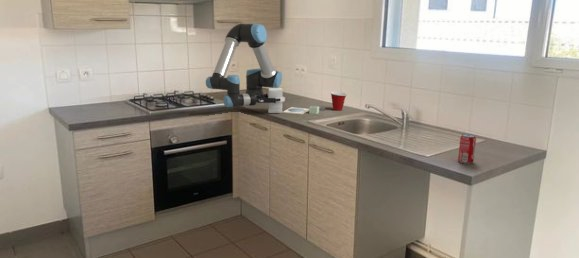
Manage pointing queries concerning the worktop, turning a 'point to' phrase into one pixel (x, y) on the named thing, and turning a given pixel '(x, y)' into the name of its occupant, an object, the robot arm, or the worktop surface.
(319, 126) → the worktop surface
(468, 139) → the soda can
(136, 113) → the worktop surface
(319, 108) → the button track
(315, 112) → the button
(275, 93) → the supplement box
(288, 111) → the sketch pad
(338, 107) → the plastic cup
